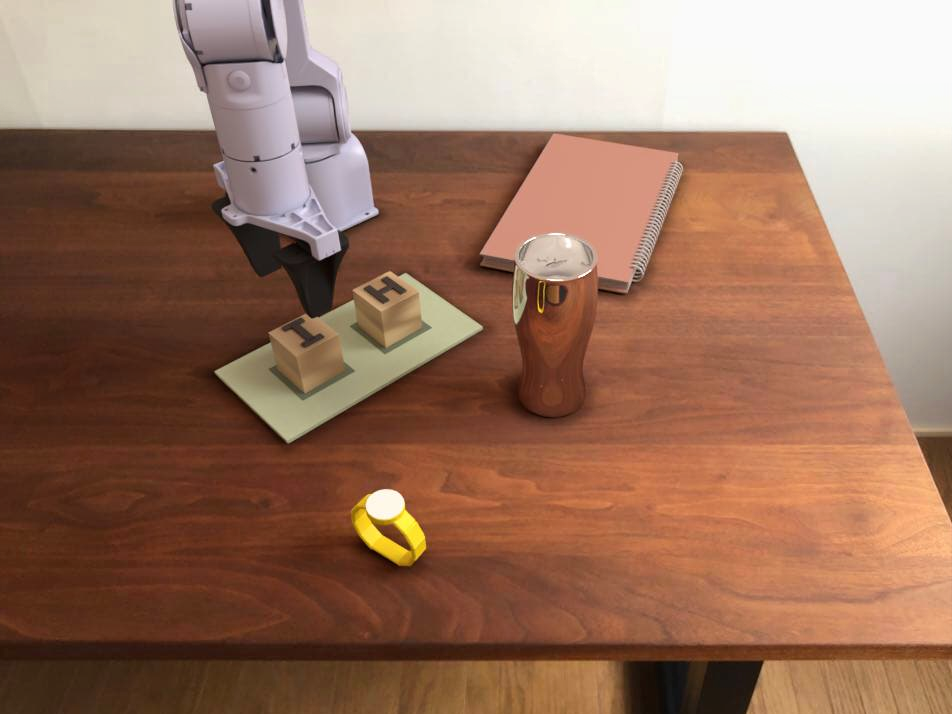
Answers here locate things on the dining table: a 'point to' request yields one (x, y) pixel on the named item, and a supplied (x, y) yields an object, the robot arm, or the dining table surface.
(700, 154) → the dining table surface
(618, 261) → the notebook
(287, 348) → the block
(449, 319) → the word mat
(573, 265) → the beer glass
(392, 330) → the block
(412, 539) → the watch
